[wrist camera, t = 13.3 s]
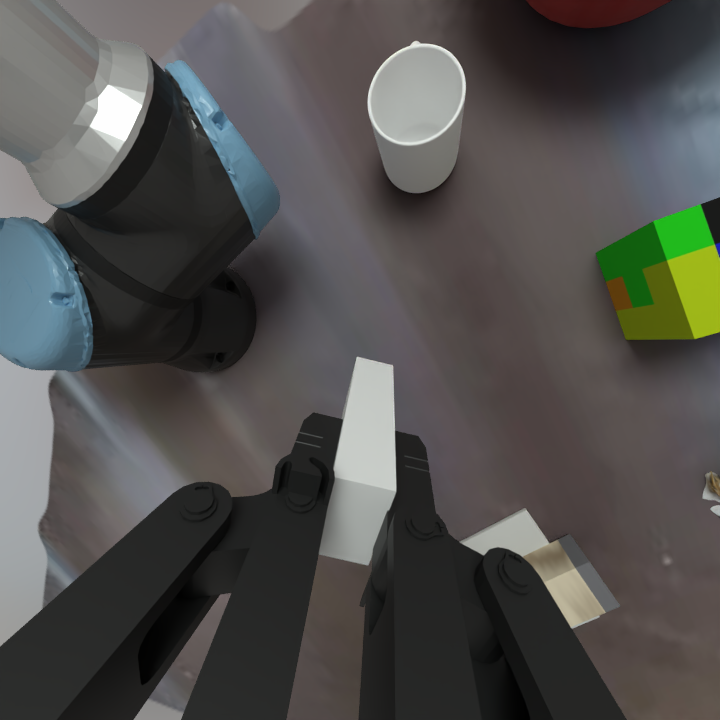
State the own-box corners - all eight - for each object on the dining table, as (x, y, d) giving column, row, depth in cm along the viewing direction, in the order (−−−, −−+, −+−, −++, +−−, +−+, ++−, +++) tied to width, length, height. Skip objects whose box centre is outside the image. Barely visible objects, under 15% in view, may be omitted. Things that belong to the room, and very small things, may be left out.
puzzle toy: (732, 308, 35) (849, 294, 25) (625, 339, 37) (694, 339, 27) (700, 216, 35) (803, 167, 25) (595, 253, 37) (653, 221, 27)
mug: (457, 85, 39) (465, -9, 29) (457, 191, 40) (466, 137, 29) (383, 98, 41) (365, 14, 30) (384, 199, 41) (368, 151, 31)
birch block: (445, 680, 37) (620, 606, 33) (419, 639, 38) (589, 561, 34) (444, 641, 42) (596, 572, 38) (421, 605, 43) (569, 533, 38)
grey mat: (471, 667, 42) (472, 670, 42) (408, 568, 43) (407, 570, 43) (597, 613, 39) (599, 616, 38) (525, 507, 40) (526, 509, 39)
